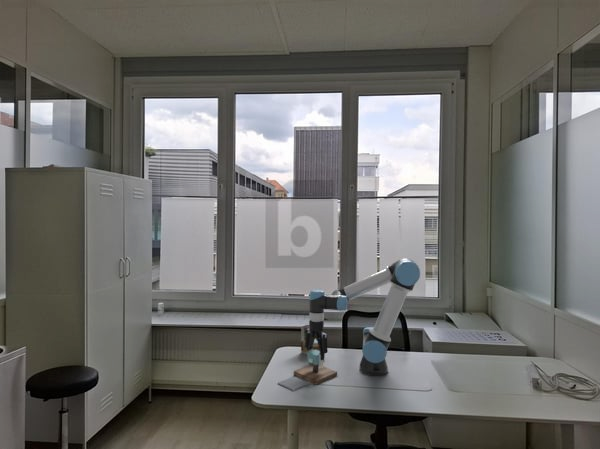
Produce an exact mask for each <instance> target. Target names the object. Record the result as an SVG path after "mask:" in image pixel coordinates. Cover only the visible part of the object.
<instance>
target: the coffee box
mask: <svg viewBox="0 0 600 449" xmlns="http://www.w3.org/2000/svg"><path fill="white" fill-rule="evenodd" d="M300 329H301V330H300V331H301V332H300V333H301V334H300V353H301V354H303V355H307V352H308V349H307V348H305V339H306V331H305V330H306V329H310V327H309V324H305V325H303V326H301V328H300Z"/></svg>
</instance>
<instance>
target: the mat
mask: <svg viewBox="0 0 600 449" xmlns="http://www.w3.org/2000/svg"><path fill="white" fill-rule="evenodd" d="M277 384H278V385H280V386H282V387H283V388H285V389H288V390H290V391H293V392H295V391H297V390H299V389H302V388H304V387H306V386H309V385H310V382H309V381H306V380H304V379H302V378H299V377H297V376H291V377H289V378H287V379H283V380H281V381H279V382H277Z"/></svg>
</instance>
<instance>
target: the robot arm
mask: <svg viewBox="0 0 600 449" xmlns="http://www.w3.org/2000/svg"><path fill="white" fill-rule="evenodd" d="M420 277H421V270H420V267H419V265H418V264H417V263H416V262H415V261H413V260H412V259H411V258H406V257H405V258H401V259H398V260H397V261H394V262H393V263H391V264H389V265H387V266H386V268H385V269H383V270H380V271H377V272H376V273H373V274H372V275H371V274H370V275H369V276H366V277H365V278H362V279H359V280H358V281H355V282H353V283H351V284H349V285H346V286H344V287H341V288H339V289H336V290H334V291H333V292H332V293H331V294H325V291H324V290H321V289H313V290H311V291H310V292H309V316H308V319H309V321H308V325H309V327H310V329H306V330H305V331H306V339H305V348H307V349H308V352H309V351H313V348H312V347H313V343H314V340H315V338H316V340H317V341H318V346H319V351H320V353H319V367H320V366H323V367H324V363H323V360H324V361H325V358H324V354H325V355H326V354H327V353H328V333H325V332H324V325H325V324H324V319H325V316H324V314H325V310H330V311H339V312H340V311H346V310H347V309H348V302H349V301H350V300H353V299H356V298H358V297H361V296H362V295H365V294H367V293H370V292H373V291H375V290H376V289H379V288H381V287H384V286H386V285H388V284H390V285H391V286H390V288H389V291H388V292H387V295H386V297H385V300H384V303H383V305H382V307H381V309H380V311H379V313H378V314H379V315H378V317H377V318H376V322H375V324H374V326H373V327H371V326H369V327H368V326H366V327H365V328H363V332H362V334H363V339H362V341H363V342H362V349H361V350H362V357H361V360H360V363H359V367H358V368H359V372H360V373H362V374H365V375H369V376H376V377H377V376H384V375H387V374H388V372H389V367H388V363H387V361H386V360H387V359H386V357H387V354H388V351H387V350H388V348H389V346H390V344H391V342H392V339H391V337H390V336H391V333H392V331H393V329H394V326H395V323H397V322H396V321H397V318H398V317H399V315H400V312H401V310H402V307H403V305H404V303H405V301H406V298H407V295H408V294H409V293H410V292H412V291H413V289H414V287H415V286H416V284H417V282H418V281H419V280H420ZM307 363H308V364H310V363H309V362H307Z"/></svg>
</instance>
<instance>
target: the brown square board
mask: <svg viewBox="0 0 600 449" xmlns="http://www.w3.org/2000/svg"><path fill="white" fill-rule="evenodd" d="M293 376H294V377H297V378H299V379H301V380H304V381H306V382H308V383H310V382H311V383H312V384H314V385H319V384H321V383H323V382H325V381H328V380H330V379H332V378H334V377H337V376H338V371H336V370H333V369H331V368H329V367H326V366H324V365H323V366H320V367H319V364H318V365H314V364H312V363H311V364H309V365H306V366H304V367H301V368H299V369H296V370H294V371H293Z"/></svg>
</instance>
